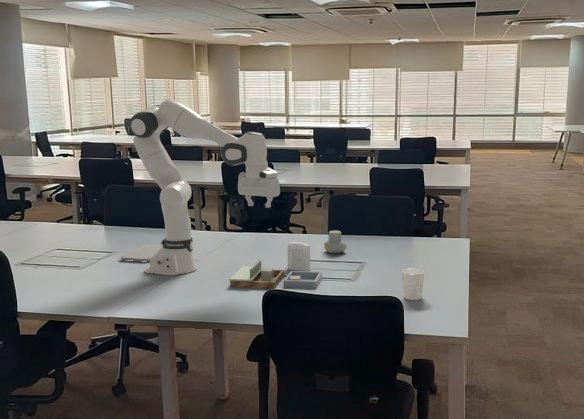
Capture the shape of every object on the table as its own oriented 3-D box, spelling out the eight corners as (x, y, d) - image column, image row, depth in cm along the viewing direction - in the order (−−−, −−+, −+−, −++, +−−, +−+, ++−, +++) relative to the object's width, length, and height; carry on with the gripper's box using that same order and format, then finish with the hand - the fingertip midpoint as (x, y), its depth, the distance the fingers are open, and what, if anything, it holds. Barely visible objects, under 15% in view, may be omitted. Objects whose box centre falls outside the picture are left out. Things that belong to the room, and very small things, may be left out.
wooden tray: (230, 288, 253) (229, 280, 252) (242, 275, 270) (242, 268, 270) (274, 290, 249) (274, 282, 249) (284, 276, 266) (284, 270, 266)
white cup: (420, 293, 240) (421, 268, 238) (425, 300, 232) (426, 273, 231) (400, 294, 240) (400, 268, 238) (404, 301, 232) (404, 274, 230)
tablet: (175, 250, 319) (175, 245, 318) (149, 263, 294) (149, 259, 294) (146, 248, 323) (145, 244, 323) (118, 262, 299) (118, 257, 299)
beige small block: (261, 282, 257) (261, 270, 256) (264, 280, 261) (263, 268, 260) (271, 283, 256) (270, 271, 256) (273, 280, 260) (273, 268, 259)
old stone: (290, 286, 252) (290, 278, 251) (290, 283, 256) (289, 276, 255) (300, 285, 252) (300, 278, 251) (300, 282, 256) (299, 275, 255)
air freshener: (348, 253, 302) (348, 233, 300) (332, 255, 299) (332, 234, 297) (338, 248, 312) (337, 228, 310) (322, 250, 309) (322, 230, 307)
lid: (229, 280, 252) (229, 270, 251) (242, 267, 270) (242, 258, 269) (251, 281, 250) (251, 271, 249) (263, 268, 268) (263, 258, 267)
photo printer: (312, 270, 276) (311, 242, 273) (307, 272, 272) (306, 244, 270) (291, 267, 281) (290, 240, 278) (286, 270, 277) (285, 242, 275)
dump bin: (283, 288, 251) (283, 280, 251) (291, 277, 265) (290, 270, 264) (316, 289, 249) (316, 281, 248) (322, 279, 262) (322, 271, 262)
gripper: (233, 172, 260) (235, 206, 263) (270, 174, 247) (273, 209, 250) (243, 170, 265) (246, 203, 268) (281, 172, 252) (283, 206, 255)
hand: (259, 206), depth 259 cm, fingers open, 8 cm apart
